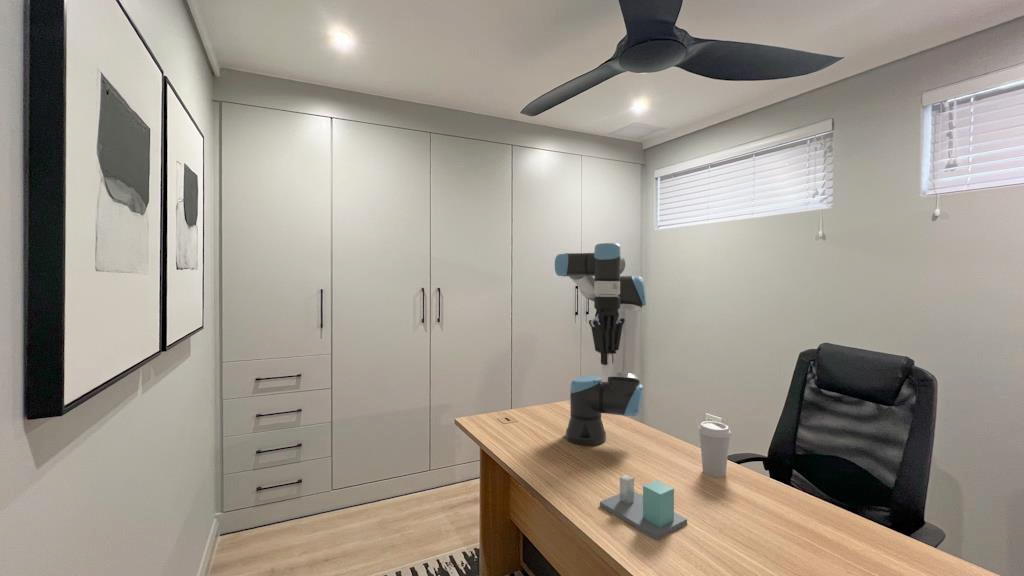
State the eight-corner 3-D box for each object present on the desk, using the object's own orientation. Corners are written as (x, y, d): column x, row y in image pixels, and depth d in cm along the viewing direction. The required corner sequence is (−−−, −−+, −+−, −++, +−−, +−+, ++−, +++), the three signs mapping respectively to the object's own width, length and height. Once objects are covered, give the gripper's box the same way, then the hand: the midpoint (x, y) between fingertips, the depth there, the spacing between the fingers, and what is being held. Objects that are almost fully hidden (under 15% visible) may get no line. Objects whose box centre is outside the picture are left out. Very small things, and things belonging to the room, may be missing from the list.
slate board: (599, 506, 114) (599, 501, 114) (630, 493, 120) (630, 489, 120) (656, 540, 99) (656, 535, 99) (687, 523, 105) (687, 518, 105)
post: (619, 500, 114) (619, 476, 114) (626, 498, 116) (626, 474, 115) (627, 505, 112) (627, 480, 112) (633, 502, 113) (633, 478, 113)
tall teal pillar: (642, 517, 106) (642, 485, 106) (656, 511, 109) (656, 480, 109) (660, 527, 102) (660, 494, 102) (673, 520, 105) (673, 488, 105)
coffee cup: (735, 481, 128) (735, 431, 127) (701, 478, 129) (701, 429, 129) (726, 467, 137) (726, 421, 137) (694, 465, 139) (694, 419, 139)
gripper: (600, 296, 119) (600, 380, 119) (632, 295, 126) (631, 374, 126) (582, 295, 125) (582, 375, 125) (613, 294, 132) (612, 370, 133)
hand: (607, 375), depth 126 cm, fingers closed
